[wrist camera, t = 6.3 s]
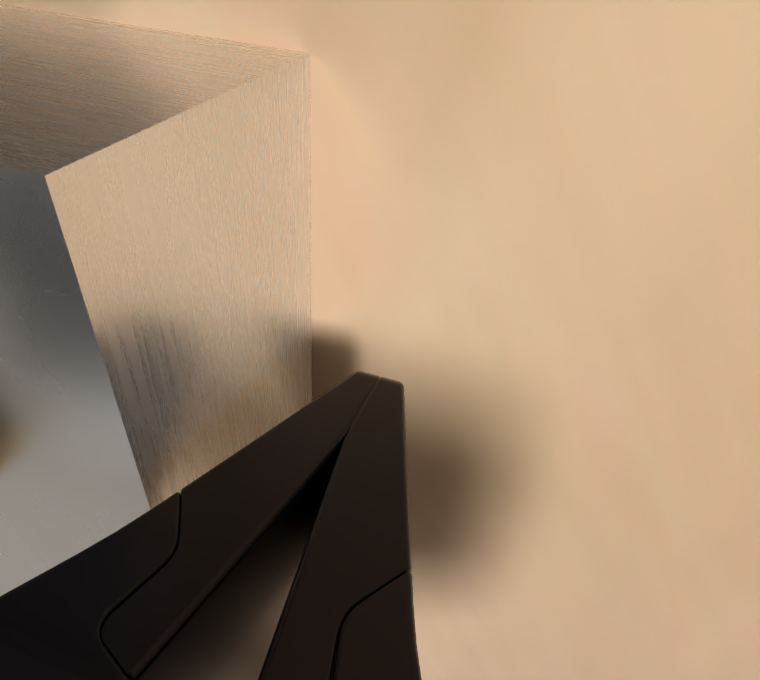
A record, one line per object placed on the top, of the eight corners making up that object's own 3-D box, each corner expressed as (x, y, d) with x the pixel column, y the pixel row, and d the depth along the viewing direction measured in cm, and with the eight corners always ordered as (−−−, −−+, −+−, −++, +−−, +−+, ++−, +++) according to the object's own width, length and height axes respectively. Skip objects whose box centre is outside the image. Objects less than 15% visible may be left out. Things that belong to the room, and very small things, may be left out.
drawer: (314, 484, 14) (176, 753, 9) (33, 393, 16) (-199, 585, 11) (315, 51, 8) (-85, 234, 3) (-153, -23, 9) (-847, 31, 5)
